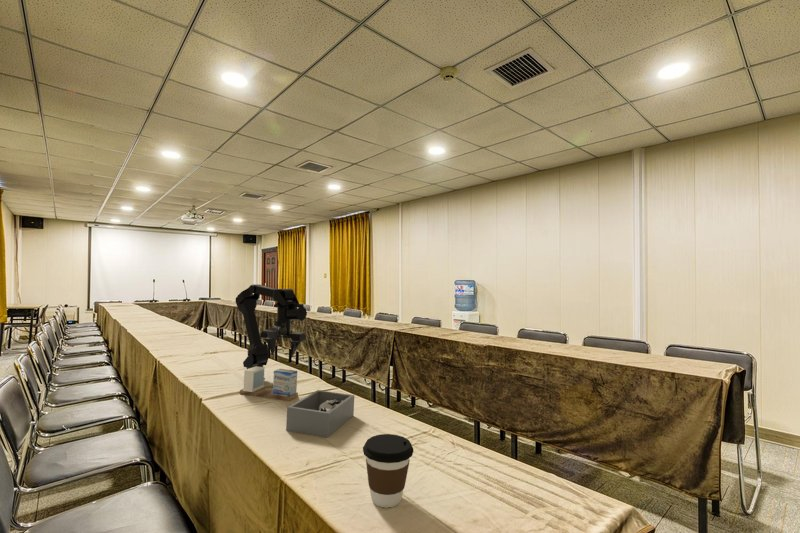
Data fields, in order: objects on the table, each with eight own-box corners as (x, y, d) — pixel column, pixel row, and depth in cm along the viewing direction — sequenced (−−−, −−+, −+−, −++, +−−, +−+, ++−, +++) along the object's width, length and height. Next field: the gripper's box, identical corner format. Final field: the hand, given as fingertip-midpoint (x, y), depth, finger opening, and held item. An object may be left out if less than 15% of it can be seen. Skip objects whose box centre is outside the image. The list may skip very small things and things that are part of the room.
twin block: (243, 390, 148) (244, 370, 148) (255, 386, 154) (256, 366, 154) (252, 392, 146) (253, 371, 147) (264, 387, 153) (265, 367, 153)
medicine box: (272, 393, 145) (273, 370, 146) (279, 390, 150) (280, 368, 150) (290, 396, 143) (291, 372, 143) (296, 392, 147) (297, 370, 148)
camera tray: (286, 430, 116) (287, 407, 116) (316, 410, 134) (317, 390, 134) (327, 437, 112) (328, 413, 112) (353, 415, 130) (354, 395, 130)
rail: (239, 393, 149) (240, 389, 149) (249, 389, 154) (250, 385, 154) (289, 401, 142) (289, 396, 142) (297, 396, 148) (298, 392, 148)
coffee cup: (410, 486, 88) (412, 433, 88) (413, 516, 77) (415, 455, 77) (362, 485, 87) (364, 432, 88) (358, 515, 76) (361, 454, 77)
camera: (323, 417, 128) (323, 391, 127) (345, 420, 126) (345, 393, 125) (303, 435, 115) (302, 406, 115) (326, 439, 113) (326, 409, 113)
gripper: (252, 318, 155) (250, 357, 155) (292, 322, 150) (291, 362, 149) (269, 316, 166) (267, 352, 165) (307, 319, 160) (305, 356, 160)
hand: (282, 355), depth 160 cm, fingers open, 9 cm apart
